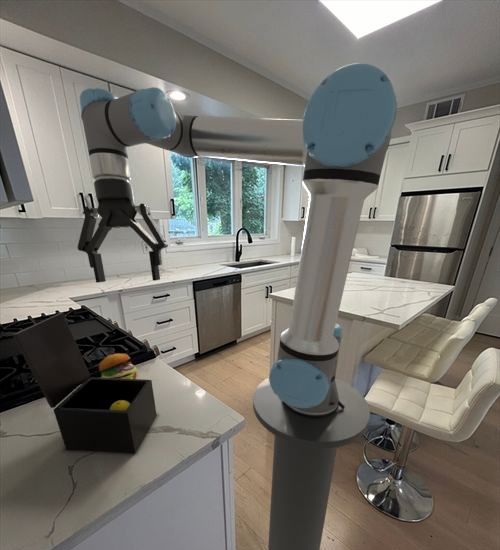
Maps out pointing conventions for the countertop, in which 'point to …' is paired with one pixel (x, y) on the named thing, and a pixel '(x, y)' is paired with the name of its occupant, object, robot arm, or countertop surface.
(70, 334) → the box lid
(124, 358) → the cheeseburger
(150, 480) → the countertop surface
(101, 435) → the black open box
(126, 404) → the lemon
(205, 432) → the countertop surface
